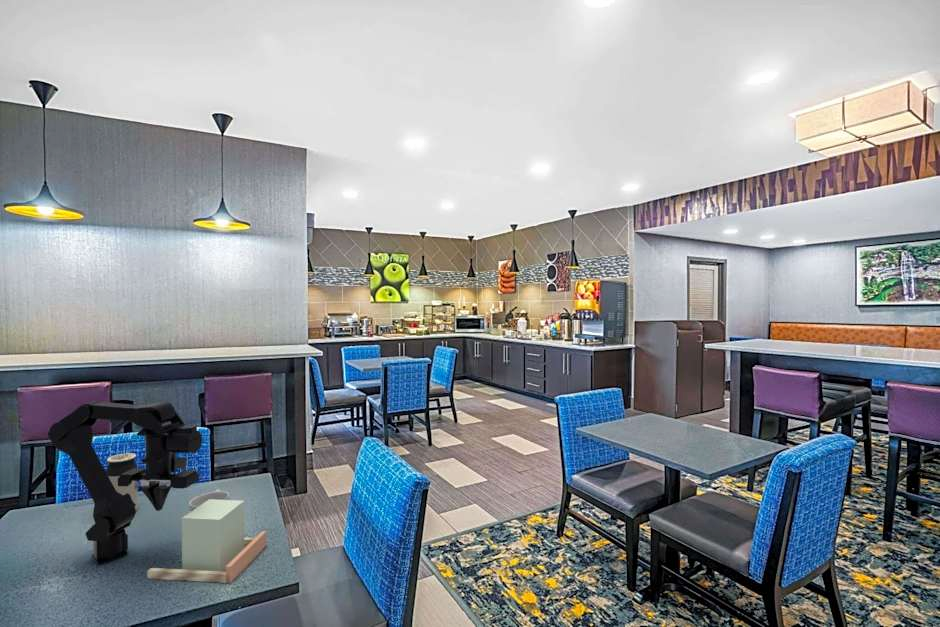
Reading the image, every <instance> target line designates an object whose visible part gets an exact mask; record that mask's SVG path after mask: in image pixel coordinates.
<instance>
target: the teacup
mask: <svg viewBox="0 0 940 627" xmlns="http://www.w3.org/2000/svg"><path fill="white" fill-rule="evenodd" d="M209 499H214V500H230V493H229V492H228V491H223V490H222V489H220V488H219V489H215V491H211V492H205V493H202V494H200V495H197V496H195V497H193V498H192V499H191V500H190V501H189V502H188V505H189V513H190V512H191V511H193V510H194V509H196V508H197V507H199V506H200V505H202V504H203V503H204V502H206V501H207V500H209Z"/></svg>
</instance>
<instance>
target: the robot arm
mask: <svg viewBox="0 0 940 627" xmlns="http://www.w3.org/2000/svg"><path fill="white" fill-rule="evenodd" d="M99 420H107V421H119V422H130V423H133V424H135V425H136V426H137V427H140V428H142V429H140V430H139V431H138V432H137V433H136V435H137V436H138V437H143V436H144V440H145V442H144V443H145V446H144V447H145V454H144V456H145V457H142V458H141V463H142V464H143V463H144V464H145V468H138V467H137V468H134V469H131V470H129V471H127V472H125V473H123V474H121V475H120V476H119V478H118V486H129V485H130V484H131V483H132V481H137V482H140V486H139V487H137V490H139V491H141V492H142V493H143V494H144V495H145V496H146V498H147V499H148V501H149V502H150V503H151V505H152V506H153V507H154V509H155V511H157V512H160V511H161V510H163V508H164V505H165V502H166V500H167V497H168V495H169V493H170V491H171V489H186V488H188V487H191V485H193V484H195V483H196V482H198V481H200V474H199V471H197V470H192V469H191V470H190V469H186V466H187V463H188V462H187V461H188V457H182V456H181V457H180V456H179V457H178V456H176V454H177V453H179V454H196V453H197V452H199V450H200V448H201V447H202V443H203V436H202V433H201V432H200V431H199V430H198V427H197V426H196V425H191V426H186V424H185V422H184V421H183V419H182V418H181V417H180V415H179V413H177V411H176V410H175V407H174V406H173V405H172V403H171V402H168V401H164V402H154V403H148V404H129V403H117V402H107V401H106V402H105V401H101V400H94V401H89V402H86V403H83V404H81V405H80V406H78V407H77V408H76V409H75V410H74V411H73V412H71V413H69V414H68V415H66V416H65V417H63V418H61V419H60V420H59V421H57V422H55V423H53V424H52V425H51V426H50V428H49V431H48V432H47V436H48V438H49V440H50V442H51V443H52V444H53V445H54V447H55V448H56V449H57V450H59V451H60V452H62V453H64V454H66V455H67V456H68V457H69V458H70V461H72V463H73V466H74V467H75V470H76V471H77V474H78V475H79V476H80V479H81V480H82V482H83V484H84V487H85V488H86V489H87V491H88V494H89V495H90V497H91V498H92V501H93V503H94V506H93V510H92V511H93V513H92V518H93V520H94V524H93V525H92V526H90V527H89V529H88V530H87V531H86V532H85V536H86V539H87V541H89V542H93V554H91V558H92V559H93V560H94V562H95V563H96V564H97V565H102V564H105V563H108V562H111V561H114V560H117V559H119V558H121V557H125V556H128V554H129V552H128V551H127V550H128V549H129V535H128V534H127V533H126V530H125V529H126V528H128V527H130V526H131V524H132V521H133V520H134V519H135V516H136V513H137V510H136V509H135V507H134V506H136V504H135V503H134V502H133V501H132V499H131V496H130V495H129V494H128V493H127V494H125V495H122V494H120V493H118V492H117V491H116V490H115V488H114V486H113V484H112V482H111V481H110V479H109V477H108V475H107V473H106V469H105V468H104V466H103V464H102V461H101V460H100V458H99V456H98V455H97V452H96V451H95V449H94V447H93V436H94V432H93V429H92V427H93V426H94V425H96V424H97V423H98V421H99ZM179 469H180V470H181V471H180V472H179V473H176V472H178V470H179ZM174 473H175V474H174Z"/></svg>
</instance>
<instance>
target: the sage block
mask: <svg viewBox="0 0 940 627" xmlns="http://www.w3.org/2000/svg"><path fill="white" fill-rule="evenodd" d="M244 537H245V500H233V499H232V500H231V499H229V500H214V499H209V500H207V501H206V502H204V503H203V504H202V505H200V506H199V507H197V508H196V509H194V510H193V511H191V512H190V511H189V512H188V513H187V514H185V515H184V516H182V517H181V563H182V564H181V569H183V570H203V571H223V572H226V566H227V565H228V564H229V563H230V562H231V561H232V560H233V559H234V558H235V557H236V556H237V555H238V554H239V553H240V552H241V551H242V550H243V549H244V548H245V541H244Z"/></svg>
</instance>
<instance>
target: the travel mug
mask: <svg viewBox="0 0 940 627" xmlns="http://www.w3.org/2000/svg"><path fill="white" fill-rule="evenodd" d="M136 457H137V455H136V453H134V452H133V453H131V452H128V453H125V452H124V453H119V454H115V455H112V456H109V457H108V458H107V459H106V461H107V463H108V466H107V468H106V469H105V471H106V473H107V475H108V477H109V479H110V481H111V482H112V484H113V486H114V488H115V490H116V491H117V492H118V493H120V494H122V495H125V494H127V493H128V494H129V495H130V496H131V499H132V501H133V502H134V503H135V504H136V506H134V507H135V509H136V511H137V510H139V509H138V508H139V507H138V506H139V505H138V504H139V503H138V500H139V499H138V496H139V494H138V481H132V483H131V484H130V485H129V486H118V478H119V476H120V475H121V474H123V473H125V472H127V471H129V470H131V469H134V468H138V464H137V462H136V461H135V460H136Z"/></svg>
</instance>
